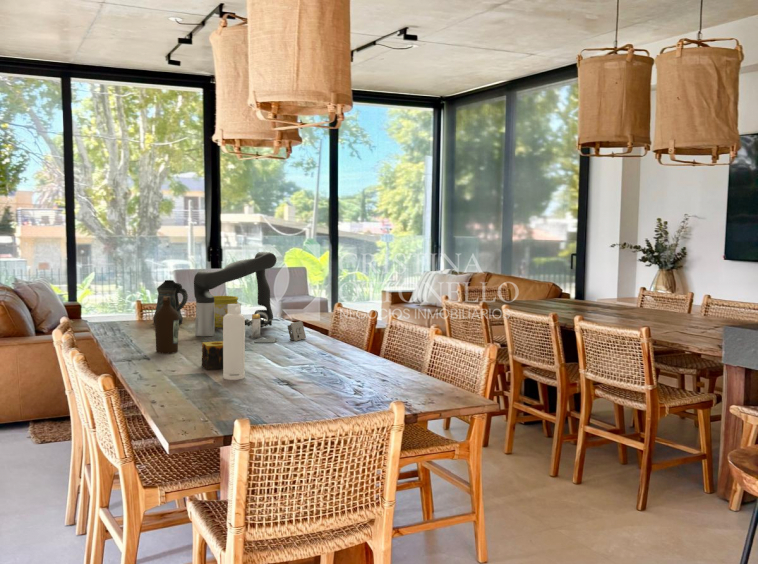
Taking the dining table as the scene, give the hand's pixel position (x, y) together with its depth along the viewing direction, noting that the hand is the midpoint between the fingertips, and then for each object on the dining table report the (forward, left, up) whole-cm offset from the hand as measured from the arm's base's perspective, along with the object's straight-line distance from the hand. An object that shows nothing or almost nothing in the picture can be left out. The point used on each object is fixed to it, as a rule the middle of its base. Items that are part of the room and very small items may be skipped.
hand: (256, 324), depth 366 cm
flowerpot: (-24, +38, -7) cm, 45 cm away
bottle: (+3, -97, -7) cm, 98 cm away
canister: (0, -3, -7) cm, 7 cm away
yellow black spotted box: (-7, -78, -7) cm, 79 cm away
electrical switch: (+21, -8, -7) cm, 24 cm away
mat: (+6, -14, -7) cm, 17 cm away
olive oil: (-35, -44, -7) cm, 57 cm away
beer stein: (-55, +46, -7) cm, 72 cm away
